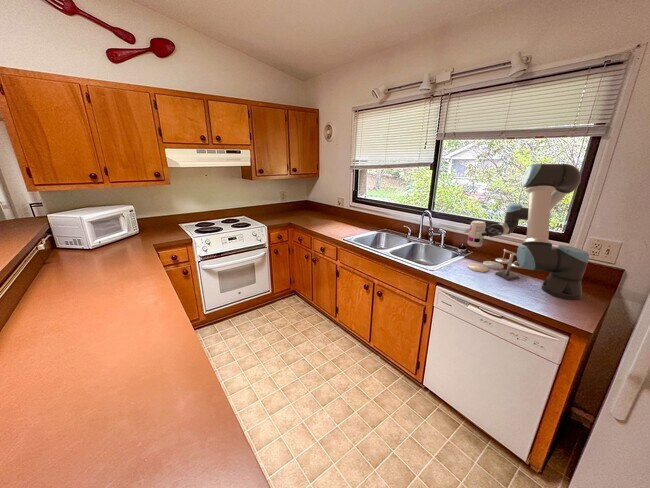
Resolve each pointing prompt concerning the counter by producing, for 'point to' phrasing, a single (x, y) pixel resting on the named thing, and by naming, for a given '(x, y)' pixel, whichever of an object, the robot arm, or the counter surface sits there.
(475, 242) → the supplement can
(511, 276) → the balance
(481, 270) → the cream dish
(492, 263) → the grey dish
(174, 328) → the counter surface
